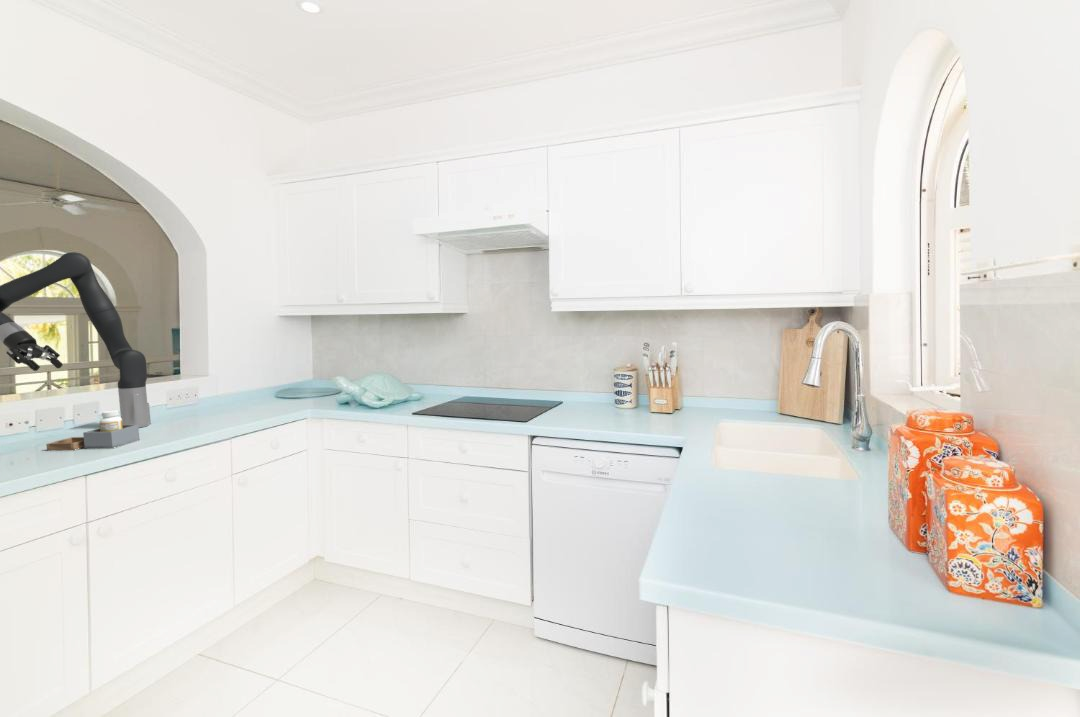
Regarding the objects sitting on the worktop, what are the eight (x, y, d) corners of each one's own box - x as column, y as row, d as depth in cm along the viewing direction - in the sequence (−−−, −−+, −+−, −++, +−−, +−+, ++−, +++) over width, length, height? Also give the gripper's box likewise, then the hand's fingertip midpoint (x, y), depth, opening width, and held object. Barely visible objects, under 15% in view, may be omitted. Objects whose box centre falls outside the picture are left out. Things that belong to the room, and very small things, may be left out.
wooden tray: (72, 443, 186) (71, 437, 186) (98, 443, 186) (97, 436, 186) (47, 450, 176) (46, 444, 176) (74, 450, 176) (73, 443, 176)
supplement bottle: (113, 443, 181) (110, 413, 180) (96, 443, 181) (93, 413, 180) (128, 439, 187) (125, 409, 186) (111, 439, 187) (108, 410, 186)
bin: (113, 440, 190) (112, 425, 189) (139, 440, 190) (138, 424, 189) (84, 449, 178) (83, 432, 177) (112, 448, 178) (111, 432, 177)
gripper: (0, 330, 175) (36, 362, 176) (40, 329, 189) (73, 359, 190) (-13, 346, 176) (23, 377, 177) (28, 343, 190) (61, 372, 191)
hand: (49, 367), depth 183 cm, fingers open, 8 cm apart
